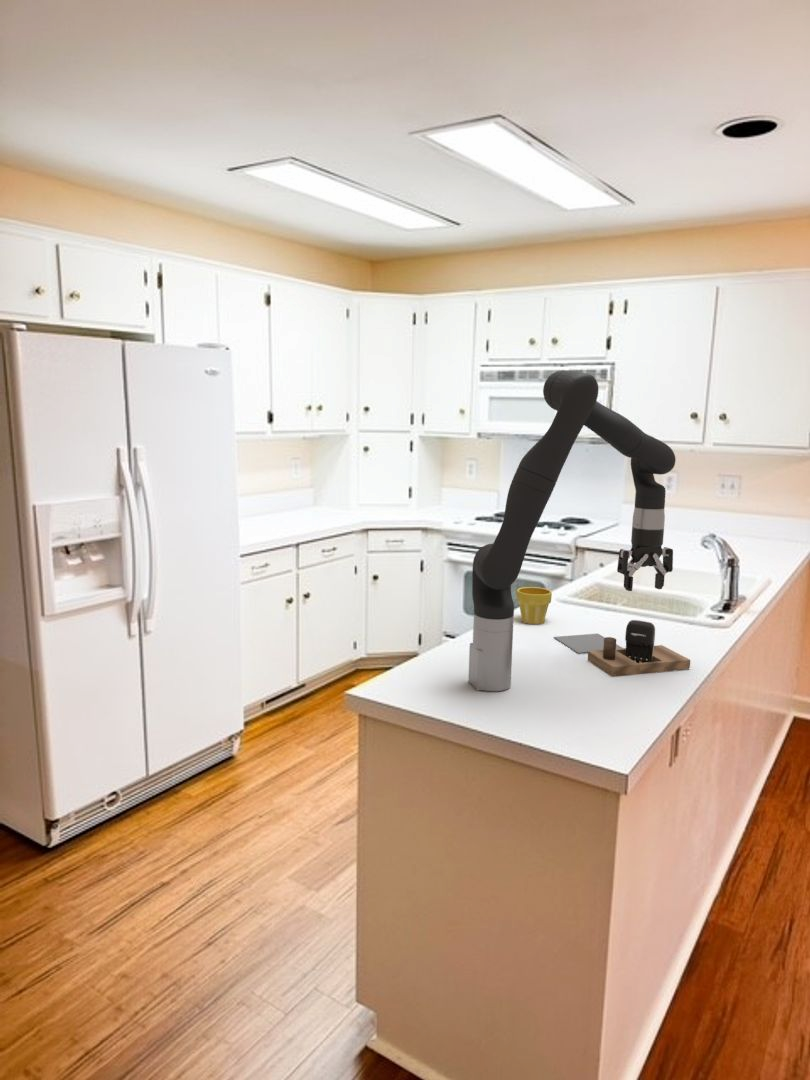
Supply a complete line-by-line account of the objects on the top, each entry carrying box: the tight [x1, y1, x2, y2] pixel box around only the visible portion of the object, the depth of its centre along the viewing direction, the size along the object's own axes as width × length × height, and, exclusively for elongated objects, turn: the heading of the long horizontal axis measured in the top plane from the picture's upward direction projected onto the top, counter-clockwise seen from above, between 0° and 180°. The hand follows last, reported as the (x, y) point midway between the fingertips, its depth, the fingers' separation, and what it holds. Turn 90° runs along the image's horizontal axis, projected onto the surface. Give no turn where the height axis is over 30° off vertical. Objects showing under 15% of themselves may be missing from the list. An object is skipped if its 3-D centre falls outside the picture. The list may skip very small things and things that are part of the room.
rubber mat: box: [553, 633, 623, 655], centre depth 204 cm, size 14×14×1 cm
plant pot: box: [516, 586, 553, 625], centre depth 224 cm, size 10×10×10 cm
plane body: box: [587, 636, 691, 677], centre depth 188 cm, size 22×12×8 cm, turn 106°
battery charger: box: [624, 619, 656, 663], centre depth 187 cm, size 7×4×11 cm, turn 61°
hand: (643, 589), depth 185 cm, fingers open, 8 cm apart
